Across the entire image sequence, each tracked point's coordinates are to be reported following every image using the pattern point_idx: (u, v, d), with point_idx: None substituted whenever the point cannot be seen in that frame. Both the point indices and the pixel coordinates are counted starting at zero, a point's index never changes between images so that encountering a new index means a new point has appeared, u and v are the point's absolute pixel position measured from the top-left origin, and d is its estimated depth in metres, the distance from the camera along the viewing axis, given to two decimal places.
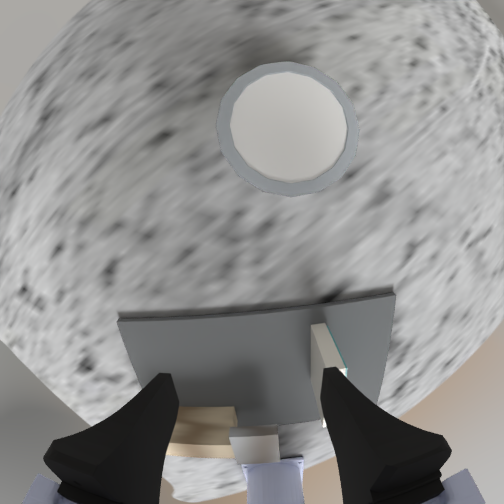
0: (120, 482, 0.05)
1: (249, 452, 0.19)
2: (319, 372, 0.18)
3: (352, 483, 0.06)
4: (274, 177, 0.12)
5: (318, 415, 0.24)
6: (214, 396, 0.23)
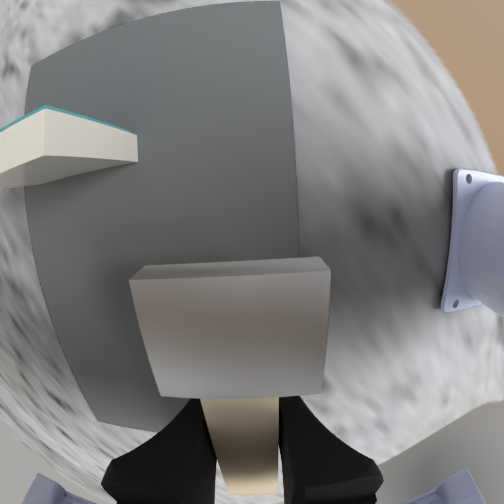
0: (192, 496, 0.05)
1: (241, 364, 0.07)
2: (15, 181, 0.07)
3: (286, 493, 0.06)
4: None
5: (273, 125, 0.10)
6: None
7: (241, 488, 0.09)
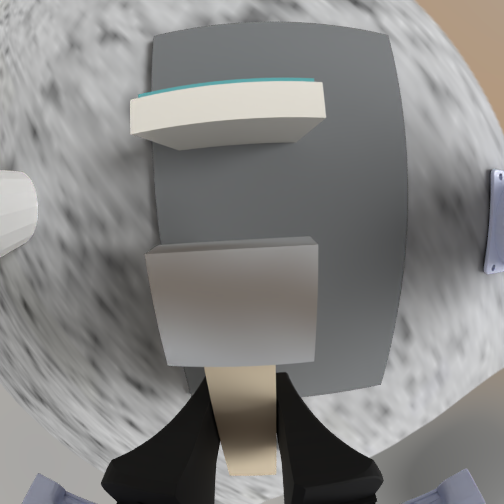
0: (192, 496, 0.05)
1: (242, 331, 0.08)
2: (205, 135, 0.10)
3: (286, 493, 0.06)
4: None
5: (393, 130, 0.13)
6: (321, 306, 0.15)
7: (241, 467, 0.10)
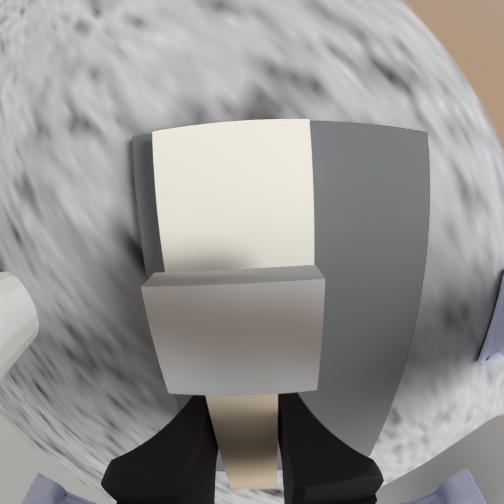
0: (192, 496, 0.05)
1: (244, 363, 0.08)
2: (206, 184, 0.10)
3: (286, 493, 0.06)
4: None
5: (414, 262, 0.12)
6: (319, 416, 0.15)
7: (242, 482, 0.10)
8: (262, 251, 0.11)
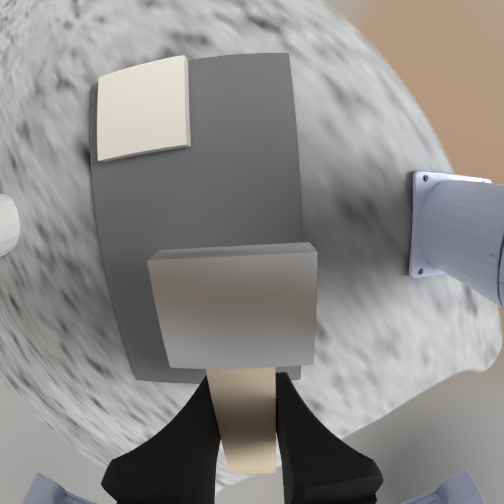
0: (192, 496, 0.05)
1: (242, 335, 0.08)
2: (124, 99, 0.14)
3: (286, 494, 0.06)
4: None
5: (285, 146, 0.16)
6: None
7: (241, 466, 0.11)
8: (152, 133, 0.14)
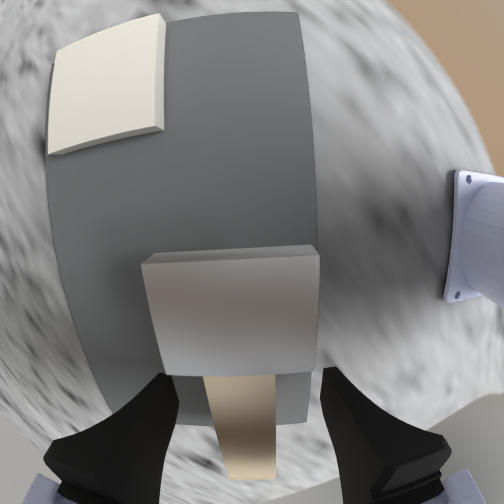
0: (120, 482, 0.05)
1: (241, 341, 0.08)
2: (81, 73, 0.09)
3: (352, 483, 0.06)
4: None
5: (294, 129, 0.11)
6: None
7: (240, 472, 0.10)
8: (112, 113, 0.09)
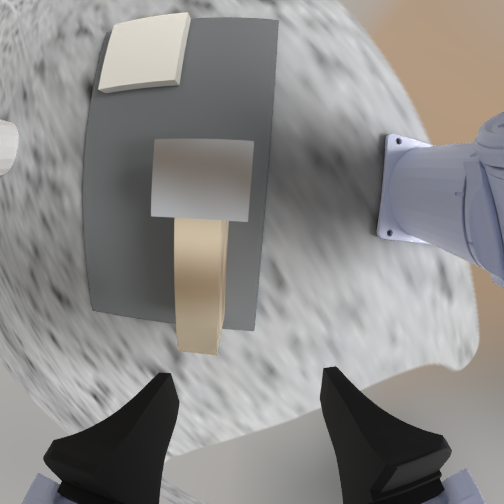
0: (120, 482, 0.05)
1: (202, 191, 0.13)
2: (130, 42, 0.14)
3: (352, 483, 0.06)
4: None
5: (262, 92, 0.16)
6: None
7: (187, 338, 0.15)
8: (148, 69, 0.14)
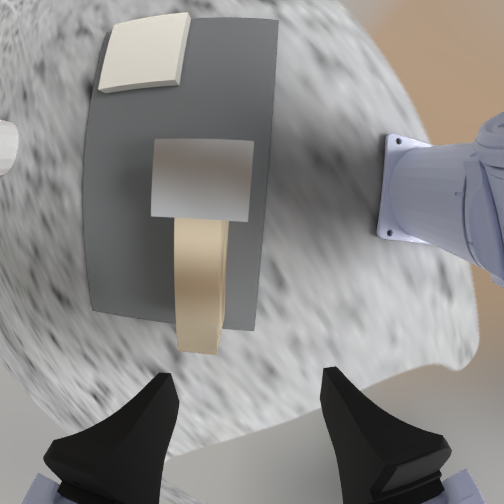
0: (120, 482, 0.05)
1: (202, 191, 0.13)
2: (130, 42, 0.14)
3: (352, 483, 0.06)
4: None
5: (262, 92, 0.16)
6: None
7: (187, 338, 0.15)
8: (148, 69, 0.14)
